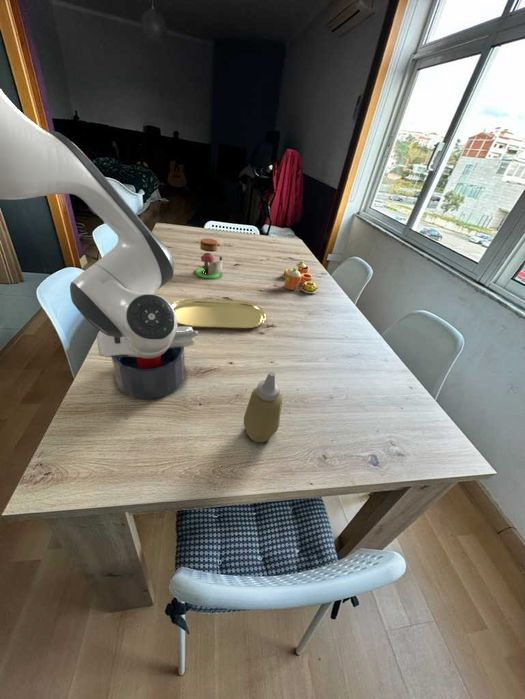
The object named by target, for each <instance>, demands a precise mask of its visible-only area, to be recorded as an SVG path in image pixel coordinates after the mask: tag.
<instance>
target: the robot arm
mask: <svg viewBox="0 0 525 699" xmlns="http://www.w3.org/2000/svg"><path fill="white" fill-rule="evenodd" d="M62 194H63V195H64V194H66V195H67V194H68V195H74V196H76V197H78V198H79V199H81V200H82V201H83V202H84V203H85V204H86V205H87V206H88V207H89V208H90V209H91V210H92V211H93V212H94V213H95V214H96V215H97V216H98V217H99V218H100V219H101V220H102V221H103V222H104V223H105V224H106V225H107V226H108V228H110V229H111V231H112V232H113V233H114V234H115V235H116V236H117V243H116V245H115V246H114V247H113V248H112V249H111V250H109V251H108V252H107V253H106V254H104V255H103V256H101V258H100V259H98V260H97V261H96V262H95V263H93V264H91V265H90V266H89V267H88V268H86V269H85V270H84V271H83V272H82V273H80V274H79V275H78V276H76V278H75V279H73V281H71V282H70V284H69V293H70V299H71V303H72V304H73V305H74V307H75V308H76V309H77V310H78V312H79V313H80V314H81V315H82V316H83V317H84V318H85V319H86V320H87V321H88V322H89V323H90V324H91V326H93V327H94V328H96V329H97V330H98V331H99V332H98V333H97V335H96V340H97V348H98V349H97V350H98V356H99V357H104V358H112V357H127V356H130V357H139V358H140V357H142V358H155V357H158V356H160V355H162V354H164V353H165V352H166V351H167V349H168V348H177V347H184V348H185V347H190V346H194V344H195V343H196V342H195V337H197V336H199V334H200V332H199V330H194V329H193V328H194V327H189V326H178V323H177V317H176V314H175V311H174V309H173V308H172V306H171V305H172V304H171V303H170V302H169V301H168V300H167V299H165V298H164V297H163V296H160V295H158V294H155V292H156V291H157V290H159V289H161V288H162V287H164V286H165V285H166V284H167V283H168V282H170V281H171V280H172V279H173V278H174V273H175V260H174V259H175V258H174V255H173V254H172V253H171V251H170V249H169V248H168V247H167V246H166V245H165V244H164V242H162V240H160V239H159V238H158V237H157V236H156V235H155V233H154V232H152V230H150V229H149V227H148V226H146V224H145V223H144V222H143V221H142V220H141V218H140V216H138V214H136V213H135V211H134V210H133V209H132V207H131V206H130V205H129V203H128V202H126V200H125V199H124V198H123V197H122V196H121V194H120V193H119V192H118V190H116V188H115V187H114V186H113V184H112V183H111V182H110V181H109V180H108V178H106V176H105V175H104V174H103V173H102V172H101V171H100V170H99V168H98V167H97V166H96V165H95V164H94V163H93V161H92V160H91V159H90V158H88V156H87V155H86V154H85V153H84V151H82V150H81V149H80V148H79V147H78V146H77V145H76V144H75V143H74V142H73V141H71V140H70V139H69V138H68V137H67V136H65V135H64V134H62V133H60V132H58V131H55V130H54V131H53V130H46V129H43V128H42V127H40V125H38V124H36V123H35V122H34V121H32V120H31V119H30V118H29V117H27V116H26V115H25V114H24V113H23V112H21V111H20V109H19V108H18V107H16V105H14V103H13V102H12V101H11V100H10V99H9V98H8V96H7V95H6V94H5V93H4V91H3V90H2V88H0V200H1V201H16V200H17V201H18V200H27V199H35V198H40V197H47V196H52V195H62Z"/></svg>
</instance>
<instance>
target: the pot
mask: <svg viewBox="0 0 525 699" xmlns="http://www.w3.org/2000/svg"><path fill="white" fill-rule="evenodd" d="M111 362H112V366H113V371H114V376H115V381H116V383H117V386H118V388H119V390H120V391H121V392H122V393H123V394H125V395H126V396H128V397H130V398H134V399H137V400H155V399H161V398H164V397H166V396H168V395H170V394H172V393H174V392H175V391H176V390H178V389H179V388H180V387H181V385H182V384H183V382H184V380H185V376H186V374H185V370H186V369H185V347H177V348H168V349H167V351H166V352H165V353H164V354H162V355H161V364H162V367H158V368H154V369H138V362H137V357H130V356H127V357H111Z"/></svg>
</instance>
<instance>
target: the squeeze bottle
mask: <svg viewBox="0 0 525 699" xmlns="http://www.w3.org/2000/svg"><path fill="white" fill-rule="evenodd" d="M282 406H283V396H282V394H281V387H280V385H279V384H278V383H277V382H276V373H275V372H274V371H270V372H268V374H267V376H266V378H265V379H263V380H261V381H259V382H258V384H257V386H256V387H255V388H254V389H253V390H252V392H251V394H250V397H249V400H248V404H247V406H246V409H245V412H244V416H243V425H244V429H245V431H246V434H247V436H248V437H249V439H250V440H252V441H254V442H256V443H264V442H267V441H269V440H270V439H271V438H272V437H273V436H274V435H275V434H276V433H277V432H278V430H279V427H280V422H281V413H282Z"/></svg>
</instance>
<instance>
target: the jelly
mask: <svg viewBox="0 0 525 699" xmlns="http://www.w3.org/2000/svg"><path fill="white" fill-rule="evenodd" d="M137 362H138V369H154V368H158V367H162V364H161V355H160V356H158V357H155V358H142V357H140V358H139V357H137Z"/></svg>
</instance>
